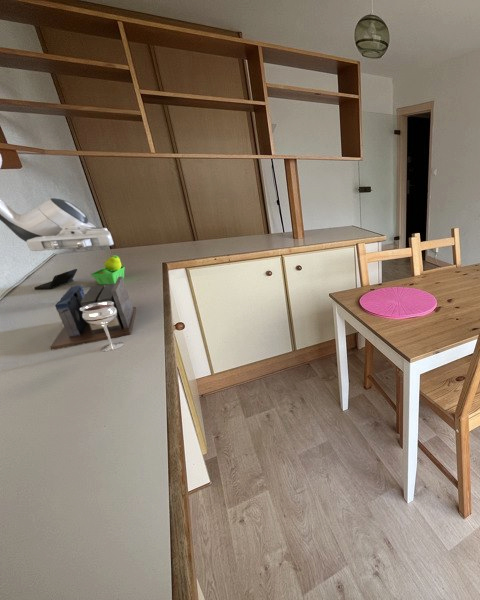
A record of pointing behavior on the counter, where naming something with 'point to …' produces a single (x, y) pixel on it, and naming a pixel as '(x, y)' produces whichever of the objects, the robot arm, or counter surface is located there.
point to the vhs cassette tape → (72, 311)
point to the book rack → (115, 328)
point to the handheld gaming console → (58, 280)
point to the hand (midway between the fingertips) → (68, 245)
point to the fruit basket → (110, 271)
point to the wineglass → (101, 319)
